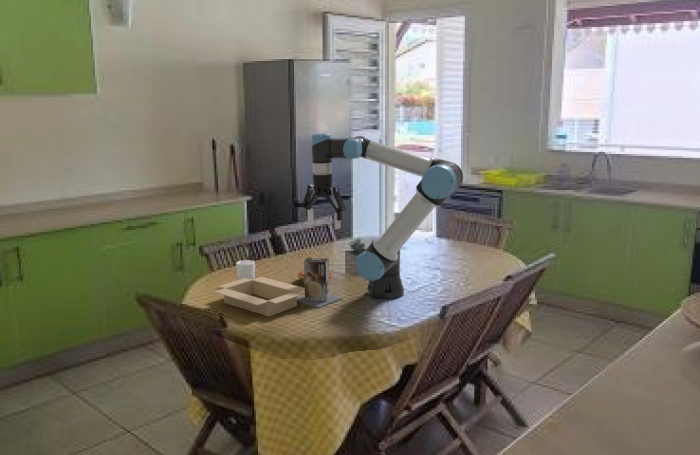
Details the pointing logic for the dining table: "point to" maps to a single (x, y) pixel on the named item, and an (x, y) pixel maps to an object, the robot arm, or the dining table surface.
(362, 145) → the robot arm
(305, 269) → the coffee box
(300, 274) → the pie
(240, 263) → the white cup
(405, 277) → the dining table surface
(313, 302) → the mat
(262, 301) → the carton
